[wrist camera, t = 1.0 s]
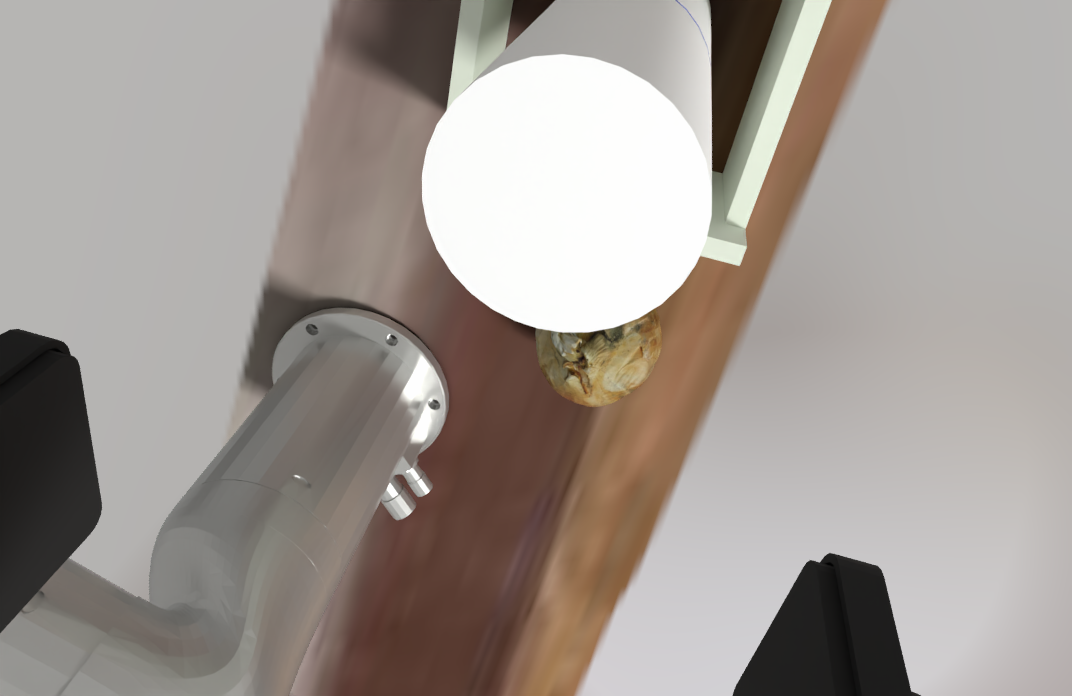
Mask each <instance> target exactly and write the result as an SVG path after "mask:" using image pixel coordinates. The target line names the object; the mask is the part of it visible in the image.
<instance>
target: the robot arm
mask: <svg viewBox="0 0 1072 696" xmlns="http://www.w3.org/2000/svg"><path fill="white" fill-rule="evenodd" d="M272 380H273V387H272V388H271V389H270V390H269V392H268V393H267V394H266V395H265V397H264V398H263V399H262V400H261V401H260V403H259V404H258V405H257V406H256V408H255V409H254V410H253V411H252V413H251V414H250V415H249V416H248V417H247V419H246V420H245V421H244V422H243V424H242V425H241V426H240V427H239V429H238V430H237V431H236V432H235V433H234V435H233V436H232V437H231V438H230V440H229V441H228V442H227V443H226V445H225V446H224V447H223V448H222V449H221V451H220V452H219V453H218V454H217V456H216V457H215V458H214V459H213V461H212V462H211V463H210V464H209V465H208V467H207V468H206V469H205V470H204V472H203V473H202V474H201V475H200V477H199V478H198V479H197V480H196V482H195V483H194V484H193V485H192V487H191V488H190V489H189V490H188V491H187V493H186V494H185V495H184V496H183V497H182V499H181V500H180V501H179V503H178V504H177V505H176V506H175V507H174V509H173V510H172V511H171V513H170V514H169V515H168V517H167V518H166V520H165V522H164V523H163V525H162V527H161V529H160V532H159V534H158V536H157V539H156V542H155V545H154V549H153V553H152V557H151V565H150V575H149V599H150V602H148V601H146V600H144V599H142V598H141V597H136V596H134V595H132V594H131V593H129V592H127V591H125V590H124V589H122V588H120V587H119V586H117V585H115V584H113V583H111V582H110V581H108V580H106V579H105V578H103V577H101V576H99V575H98V574H96V573H94V572H92V571H91V570H89V569H87V568H85V567H84V566H82V565H80V564H78V563H77V562H75V561H73V560H72V559H70V558H69V557H70V556H71V555H72V553H73V552H74V551H75V550H76V549H77V548H78V547H79V546H80V545H81V544H82V542H83V541H84V540H85V539H86V538H87V537H88V536H89V535H90V533H91V532H92V531H93V530H94V528H95V526H96V525H97V523H98V520H99V518H100V515H101V510H102V502H101V495H100V489H99V483H98V478H97V471H96V465H95V459H94V453H93V446H92V440H91V434H90V428H89V421H88V416H87V409H86V403H85V397H84V391H83V384H82V378H81V372H80V366H79V363H78V360H77V359H76V358H75V357H73V356H71V354H70V351H69V348H68V346H67V345H66V344H65V343H64V342H62V341H59V340H56V339H52V338H49V337H45V336H42V335H38V334H34V333H31V332H27V331H24V330H20V329H14V330H9V331H7V332H5V333H3V334H1V335H0V696H289V694H290V691H291V689H292V686H293V683H294V680H295V678H296V675H297V672H298V670H299V667H300V665H301V662H302V660H303V658H304V655H305V653H306V651H307V648H308V646H309V644H310V641H311V639H312V637H313V635H314V633H315V631H316V629H317V627H318V624H319V622H320V620H321V618H322V616H323V614H324V612H325V610H326V608H327V606H328V604H329V602H330V600H331V598H332V596H333V594H334V592H335V590H336V588H337V586H338V584H339V582H340V580H341V578H342V576H343V574H344V572H345V570H346V568H347V566H348V564H349V562H350V560H351V558H352V556H353V554H354V552H355V550H356V548H357V546H358V545H359V543H360V541H361V539H362V537H363V535H364V533H365V531H366V529H367V527H368V525H369V523H370V521H371V519H372V517H373V515H374V513H375V511H376V509H377V507H378V505H379V503H380V501H381V502H382V503H383V505H384V506H385V507H386V509H387V510H388V511H389V513H390V514H391V515H392V517H393V518H394V519H396V520H399V519H403V518H405V517H407V516H408V515H409V514H410V513H411V512H412V511H413V510H414V509H415V507H416V502H415V501H414V500H413V498H412V497H411V495H410V494H409V493H408V491H407V490H406V488H405V487H404V486H403V485H402V484H400V482H399V481H398V479H397V478H396V477H395V475H396V474H403V476H404V477H405V479H406V480H407V483H408V484H409V486H410V487H411V489H412V490H413V491H414V493H415V494H416V495H417V496H418V497H422V496H424V495H426V494H427V493H428V492H430V490H431V489H432V487H433V484H432V483H431V481H430V480H429V479H428V477H427V476H426V474H425V473H424V472H423V471H422V470H421V469H420V467H419V466H418V465H417V463H418V457H417V456H418V454H420V453H421V452H423V451H424V450H425V449H426V448H428V447H429V446H430V445H431V444H432V443H433V442H434V440H435V439H436V438H437V436H438V435H439V433H440V431H441V429H442V427H443V425H444V423H445V420H446V416H447V413H448V409H449V393H448V388H447V382H446V379H445V377H444V374H443V372H442V369H441V367H440V365H439V364H438V362H437V361H436V359H435V357H434V356H433V354H432V353H431V351H430V350H429V349H428V348H427V347H426V346H425V345H424V344H423V343H422V342H421V340H420V339H418V338H417V337H416V336H415V335H413V334H412V333H411V332H410V331H408V330H407V329H406V328H405V327H403V326H401V325H399V324H398V323H396V322H394V321H392V320H391V319H389V318H386V317H384V316H381V315H379V314H376V313H373V312H370V311H365V310H361V309H356V308H331V309H324V310H320V311H317V312H314V313H311V314H309V315H307V316H305V317H304V318H302V319H300V320H299V321H297V322H296V323H295V324H294V325H293V326H292V327H291V328H290V329H289V330H288V331H287V332H286V333H285V335H284V336H283V338H282V339H281V340H280V342H279V343H278V345H277V348H276V350H275V353H274V356H273V362H272ZM733 696H921V695H919V694H916V693H914V692H911V689H910V684H909V680H908V676H907V672H906V668H905V663H904V660H903V655H902V651H901V646H900V642H899V638H898V634H897V630H896V625H895V621H894V617H893V613H892V608H891V604H890V600H889V596H888V592H887V587H886V583H885V579H884V576H883V573H882V570H881V569H880V568H879V567H878V566H876V565H872V564H868V563H865V562H861V561H858V560H854V559H851V558H847V557H843V556H840V555H836V554H831V553H829V554H827V555H826V556H825V557H824V558H823V559H822V561H821V562H820V563H819V562H816V561H811V560H810V561H808V562H807V563H806V564H805V566H804V567H803V569H802V571H801V573H800V574H799V576H798V578H797V580H796V582H795V583H794V585H793V587H792V589H791V590H790V592H789V594H788V595H787V597H786V599H785V601H784V603H783V604H782V606H781V608H780V610H779V611H778V613H777V615H776V617H775V618H774V620H773V622H772V624H771V625H770V627H769V629H768V631H767V633H766V634H765V636H764V638H763V639H762V641H761V643H760V645H759V646H758V648H757V650H756V652H755V653H754V655H753V657H752V659H751V661H750V662H749V664H748V666H747V667H746V669H745V671H744V673H743V674H742V676H741V678H740V680H739V682H738V683H737V685H736V687H735V690H734V693H733Z"/></svg>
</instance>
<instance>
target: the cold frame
mask: <svg viewBox="0 0 1072 696" xmlns="http://www.w3.org/2000/svg"><path fill="white" fill-rule="evenodd" d="M831 1H832V0H782V3H781V6H780V9H779V12H778V15H777V17H776V20H775V23H774V26H773V29H772V32H771V35H770V38H769V41H768V44H767V46H766V49H765V52H764V55H763V58H762V61H761V64H760V67H759V70H758V72H757V75H756V78H755V81H754V84H753V87H752V90H751V93H750V96H749V99H748V101H747V104H746V107H745V110H744V113H743V116H742V119H741V122H740V125H739V128H738V130H737V133H736V136H735V139H734V142H733V145H732V148H731V151H730V154H729V156H728V159H727V162H726V165H725V168H724V171H723V173H719V172H715V171H712V216H711V221H710V226H709V230H708V235H707V240H706V243H705V245H704V247H703V250H702V252H701V254H700V256H704V257H707V258H711V259H715V260H719V261H723V262H727V263H730V264H734V265H738V266H740V263H741V261H742V258H743V256H744V253H745V250H746V248H747V242H746V232H745V228H746V226H747V223H748V221H749V218H750V215H751V213H752V210H753V207H754V205H755V202H756V199H757V197H758V194H759V191H760V189H761V186H762V183H763V181H764V178H765V176H766V173H767V170H768V168H769V165H770V162H771V160H772V157H773V154H774V152H775V149H776V146H777V144H778V141H779V138H780V136H781V133H782V131H783V128H784V125H785V123H786V120H787V117H788V115H789V112H790V109H791V107H792V104H793V101H794V99H795V96H796V93H797V91H798V88H799V86H800V83H801V80H802V78H803V75H804V72H805V70H806V67H807V64H808V62H809V59H810V56H811V54H812V51H813V48H814V46H815V43H816V41H817V38H818V35H819V33H820V30H821V27H822V25H823V22H824V19H825V17H826V14H827V11H828V9H829V6H830V3H831ZM512 6H513V0H461V8H460V15H459V23H458V30H457V38H456V45H455V52H454V60H453V67H452V75H451V82H450V90H449V97H448V105H447V109H448V108H449V107H450V105H451V104H452V102H453V101H454V100H455V99H456V98H457V97H458V96H459V95H460V94H461V93H462V92H463V91H464V90H465V89H466V88H467V87H468V86H469V85H470V84H471V83H472V82H473V81H474V80H475V79H476V78H477V77H478V76H479V75H480V74H481V73H482V72H483V71H484V70H485V69H486V68H487V67H488V66H489V65H490V64H491V63H492V62H493V61H494V60H495V59H496V58H497V57H498V56H499V55H500V54H501V53H502V52H503V51H504V50H505V47H506V41H507V35H508V29H509V23H510V17H511V11H512Z"/></svg>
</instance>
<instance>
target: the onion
mask: <svg viewBox="0 0 1072 696" xmlns="http://www.w3.org/2000/svg"><path fill="white" fill-rule="evenodd" d="M535 336H536V346H537V355H538V360H539V364H540V367H541V370H542V372H543V374H544V376H545V377H546V379H547V381H548V383H549V384H550V386H551V387H552V388H553V389H554V390H555V391H556V392H557V393H559V394H560V395H561V396H563V397H564V398H567V399H568V400H570V401H572V402H575V403H578V404H581V405H585V406H589V407H599V406H605V405H608V404H611V403H613V402H615V401H617V400H619V399H621V398H622V397H624V396H626V395H627V394H629V393H631V392H632V391H634V390H635V389H637V388H638V387H640V386H641V385H642V384H643V383H644V382H645V380H646V379H647V377H648V376H649V375H650V373H651V371H652V369H653V367H654V365H655V363H656V361H657V359H658V356H659V354H660V351H661V345H662V334H661V328H660V319H659V316H658V313H657V311H656V308H654V309H653V310H651V311H650V312H648V313H646V314H645V315H643V316H642V317H640V318H638V319H635V320H633V321H630V322H628V323H625V324H622V325H620V326H617V327H614V328H610V329H604V330H598V331H593V332H556V331H550V330H544V329H538V328H536V332H535Z"/></svg>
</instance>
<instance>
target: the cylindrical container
mask: <svg viewBox="0 0 1072 696" xmlns="http://www.w3.org/2000/svg"><path fill="white" fill-rule="evenodd" d="M422 200H423V206H424V211H425V216H426V221H427V225H428V228H429V230H430V233H431V236H432V238H433V241H434V243H435V246H436V248H437V250H438V252H439V253H440V255H441V256H442V258H443V260H444V261H445V263H446V264H447V266H448V268H449V269H450V271H451V272H452V273H453V275H454V276H455V277H456V278H457V279H458V280H459V281H460V282H461V283H462V284H463V285H464V286H465V287H466V289H467V290H468V291H469V292H470V293H471V294H473V295H474V296H475V297H477V298H478V299H479V300H481V301H482V302H483V303H485V304H486V305H487V306H489V307H490V308H491V309H493V310H495V311H497V312H499V313H501V314H503V315H504V316H506V317H508V318H510V319H512V320H514V321H517V322H520V323H523V324H526V325H529V326H532V327H535V328H538V329H544V330H550V331H556V332H593V331H598V330H604V329H610V328H614V327H617V326H620V325H622V324H625V323H628V322H630V321H633V320H635V319H638V318H640V317H642V316H643V315H645V314H646V313H648V312H650V311H651V310H653V309H654V308H656V307H658V306H659V305H661V304H662V303H663V302H664V301H665V300H667V299H668V298H669V297H670V296H671V295H672V294H673V293H674V292H675V291H676V290H677V289H678V288H679V287H680V286H681V285H682V284H683V282H684V281H685V279H686V278H687V277H688V275H689V274H690V272H691V271H692V269H693V268H694V266H695V265H696V263H697V261H698V259H699V256H700V254H701V252H702V250H703V247H704V245H705V243H706V240H707V235H708V230H709V226H710V221H711V216H712V100H711V7H710V2H709V0H555V1H554V2H553V3H552V4H551V5H550V6H549V7H548V8H547V9H546V10H545V11H544V12H543V13H542V14H541V15H540V16H539V17H538V18H537V19H536V20H535V21H534V22H533V23H532V24H531V25H530V26H529V27H528V28H527V29H526V30H525V31H524V32H523V33H522V34H521V35H520V36H518V37H517V38H516V39H515V40H514V41H513V42H512V43H511V44H510V45H509V46H508V47H507V48H506V49H505V50H504V51H503V52H502V53H501V54H500V55H499V56H498V57H497V58H496V59H495V60H494V61H493V62H492V63H491V64H490V65H489V66H488V67H487V68H486V69H485V70H484V71H483V72H482V73H481V74H480V75H479V76H478V77H477V78H476V79H475V80H474V81H473V82H472V83H471V84H470V85H469V86H468V87H467V88H466V89H465V90H464V91H463V92H462V93H461V94H460V95H459V96H458V97H457V98H456V99H455V100H454V101H453V102H452V104H451V105H450V107H449V108H448V109H447V111H446V112H445V114H444V115H443V117H442V118H441V120H440V121H439V122H438V124H437V126H436V128H435V131H434V133H433V136H432V138H431V141H430V143H429V145H428V148H427V151H426V156H425V162H424V167H423V172H422Z"/></svg>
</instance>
